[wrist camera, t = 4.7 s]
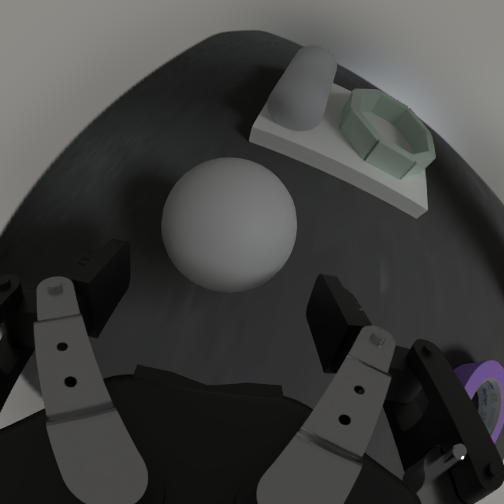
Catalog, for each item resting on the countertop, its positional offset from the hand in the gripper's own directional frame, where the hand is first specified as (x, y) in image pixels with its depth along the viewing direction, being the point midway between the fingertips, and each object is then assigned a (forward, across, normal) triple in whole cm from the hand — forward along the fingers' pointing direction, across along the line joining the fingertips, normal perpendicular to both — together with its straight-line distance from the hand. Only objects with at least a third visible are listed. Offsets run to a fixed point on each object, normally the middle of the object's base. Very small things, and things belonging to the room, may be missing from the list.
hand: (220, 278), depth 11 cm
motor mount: (+20, -11, -9) cm, 25 cm away
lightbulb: (+8, 0, +4) cm, 9 cm away
